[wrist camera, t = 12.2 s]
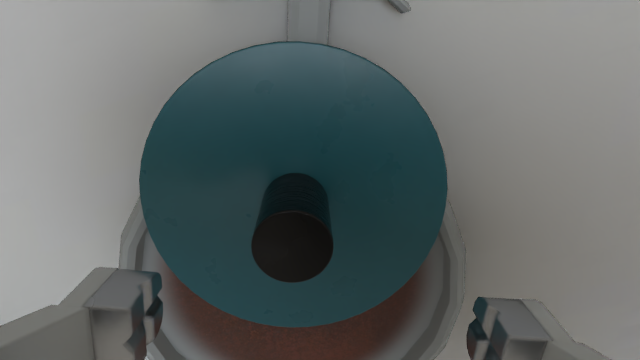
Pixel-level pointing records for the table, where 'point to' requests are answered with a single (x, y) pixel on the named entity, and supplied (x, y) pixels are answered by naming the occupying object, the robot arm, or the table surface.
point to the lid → (293, 184)
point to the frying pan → (317, 341)
